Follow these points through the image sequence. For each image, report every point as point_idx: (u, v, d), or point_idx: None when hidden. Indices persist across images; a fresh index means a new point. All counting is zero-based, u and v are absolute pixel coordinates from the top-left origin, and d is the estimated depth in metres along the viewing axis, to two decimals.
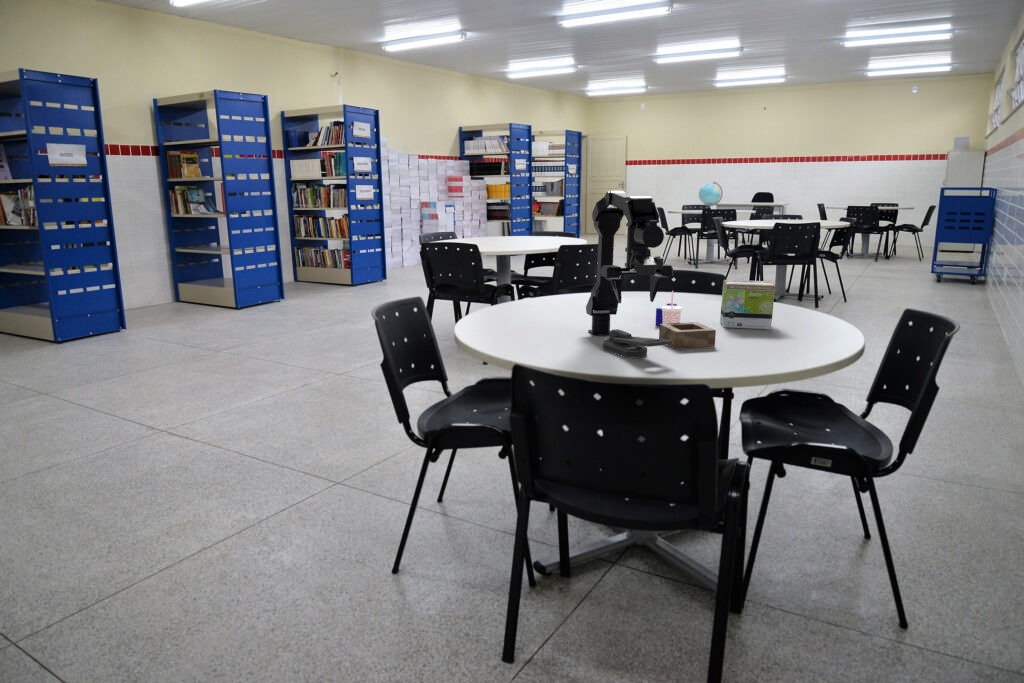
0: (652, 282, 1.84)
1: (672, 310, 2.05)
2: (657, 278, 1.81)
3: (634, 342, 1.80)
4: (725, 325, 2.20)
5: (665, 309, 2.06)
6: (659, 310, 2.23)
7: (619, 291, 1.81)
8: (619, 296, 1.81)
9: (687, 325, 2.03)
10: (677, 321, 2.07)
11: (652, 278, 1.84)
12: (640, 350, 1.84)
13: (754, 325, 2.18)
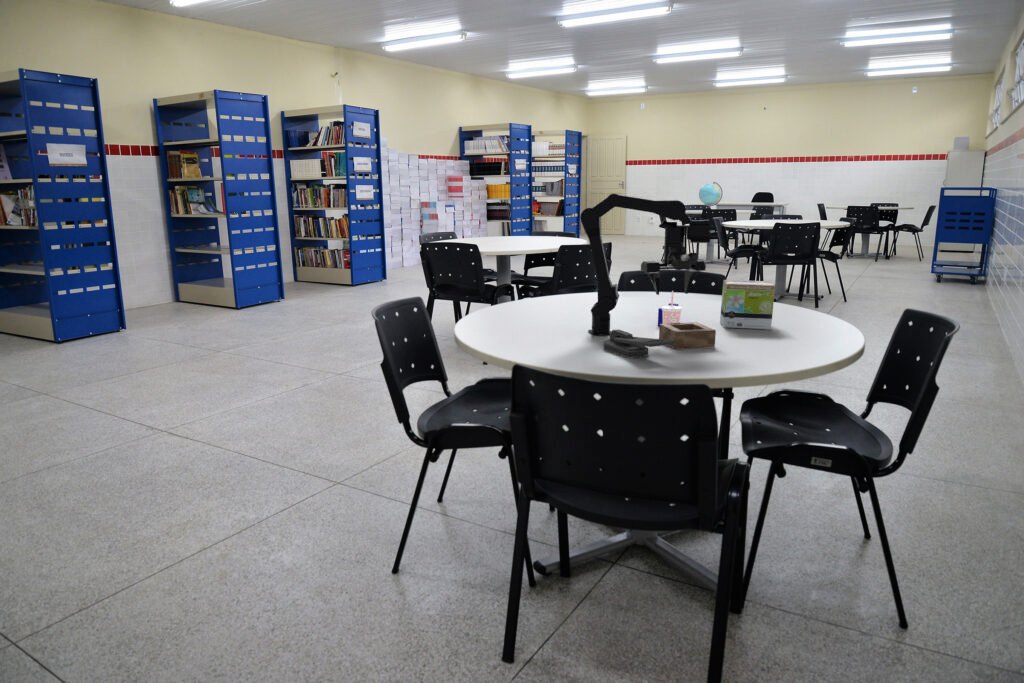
0: (686, 276, 2.07)
1: (672, 310, 2.05)
2: (691, 272, 2.04)
3: (636, 342, 1.79)
4: (725, 325, 2.20)
5: (665, 309, 2.06)
6: (661, 310, 2.23)
7: (657, 284, 2.04)
8: (657, 288, 2.04)
9: (687, 325, 2.03)
10: (677, 321, 2.07)
11: (686, 272, 2.07)
12: (642, 350, 1.84)
13: (754, 325, 2.18)
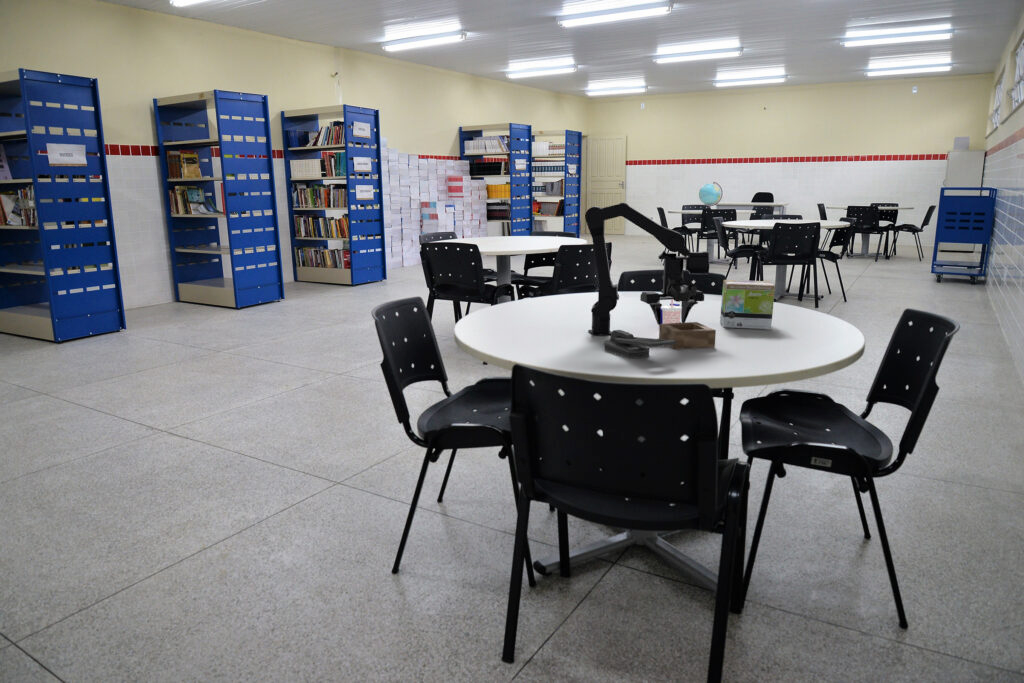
0: (683, 306, 2.10)
1: (672, 310, 2.05)
2: (688, 303, 2.07)
3: (637, 342, 1.79)
4: (725, 325, 2.20)
5: (665, 309, 2.06)
6: None
7: (659, 314, 2.07)
8: (658, 318, 2.07)
9: (687, 325, 2.03)
10: (677, 321, 2.07)
11: (683, 303, 2.10)
12: (643, 350, 1.83)
13: (754, 325, 2.18)
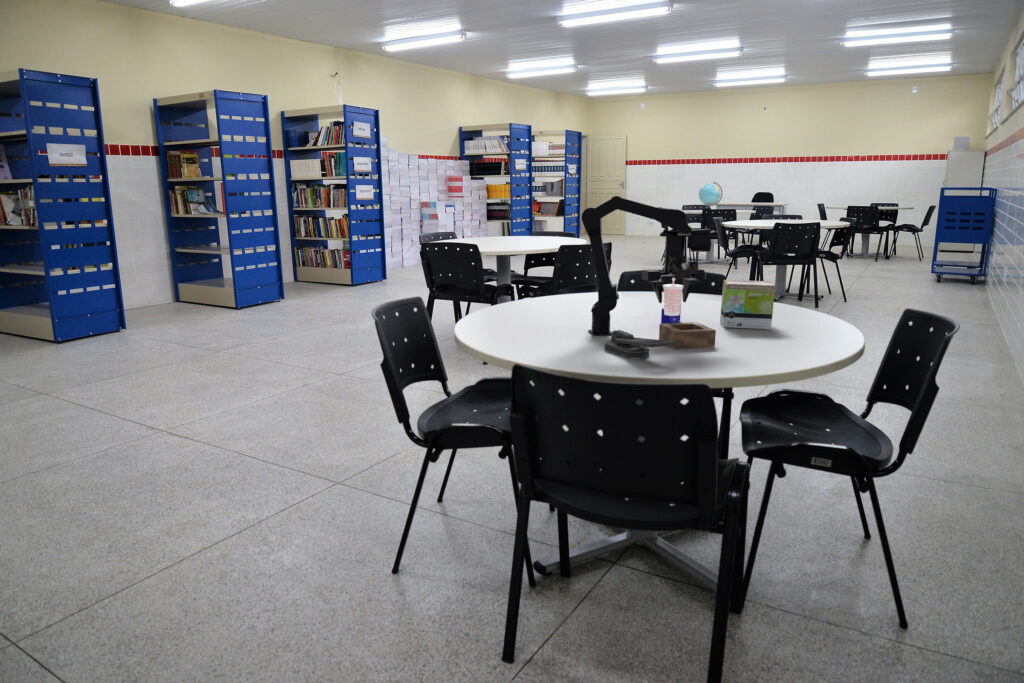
0: (685, 284, 2.08)
1: (676, 288, 2.04)
2: (689, 281, 2.05)
3: (636, 343, 1.79)
4: (725, 325, 2.20)
5: (668, 287, 2.04)
6: None
7: (660, 292, 2.05)
8: (660, 297, 2.06)
9: (687, 325, 2.03)
10: (680, 299, 2.06)
11: (685, 281, 2.08)
12: (642, 351, 1.83)
13: (754, 325, 2.18)
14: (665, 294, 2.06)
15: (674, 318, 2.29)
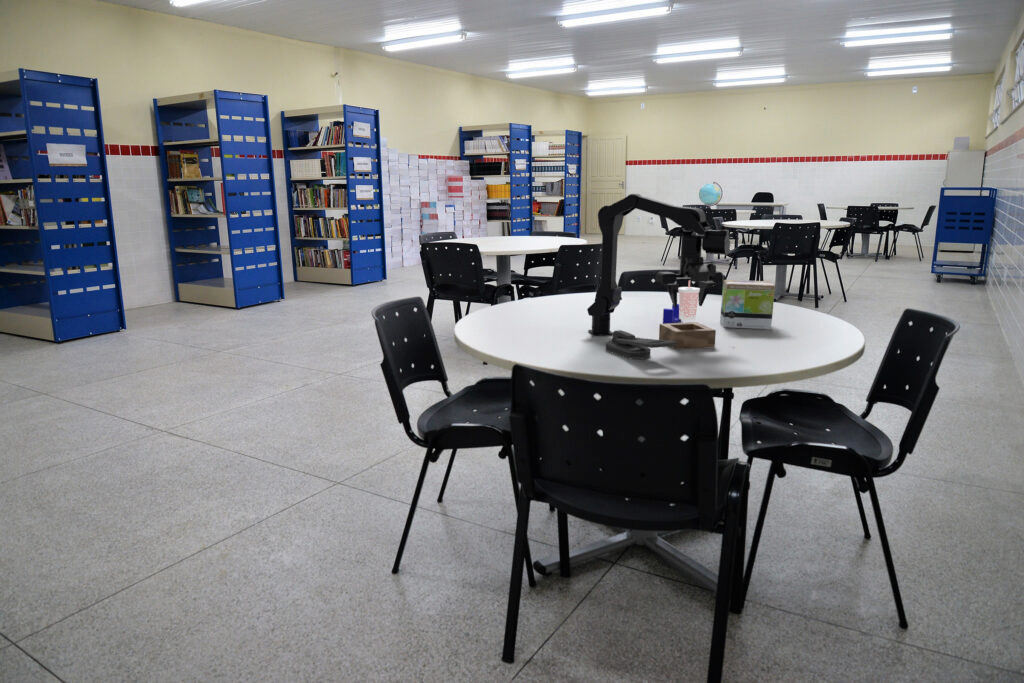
0: (701, 287, 1.98)
1: (692, 291, 1.93)
2: (706, 284, 1.95)
3: (638, 343, 1.78)
4: (725, 325, 2.20)
5: (684, 290, 1.94)
6: (666, 310, 2.22)
7: (675, 296, 1.94)
8: (675, 300, 1.95)
9: (687, 325, 2.03)
10: (696, 303, 1.95)
11: (701, 284, 1.98)
12: (644, 351, 1.83)
13: (754, 325, 2.18)
14: (680, 297, 1.96)
15: (676, 318, 2.29)
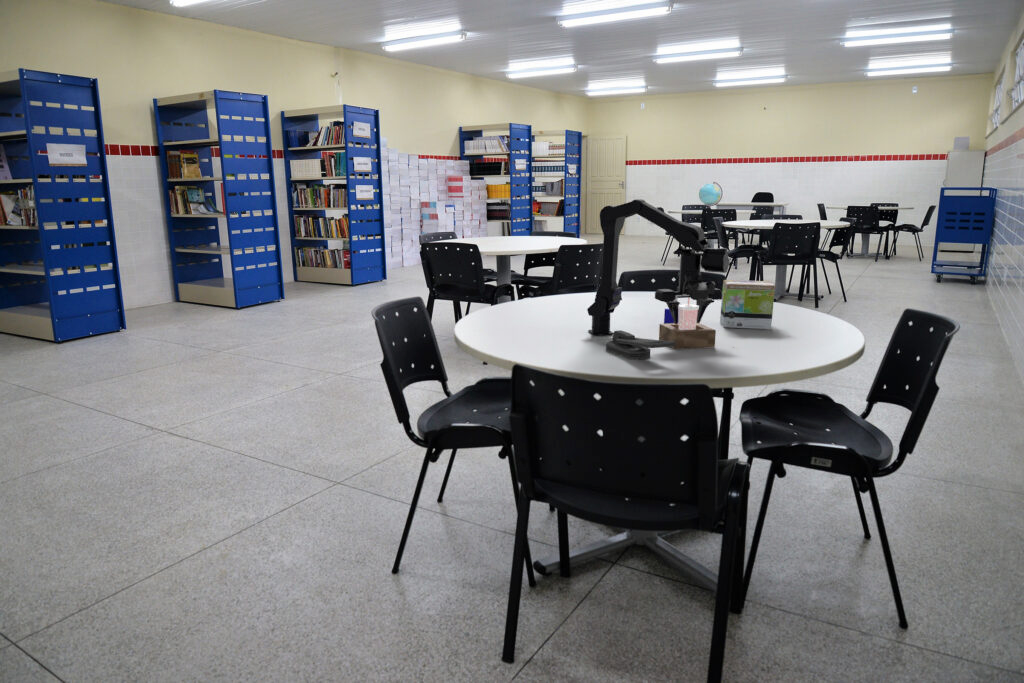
0: (698, 304, 1.99)
1: None
2: (704, 301, 1.96)
3: (637, 343, 1.78)
4: (725, 325, 2.20)
5: None
6: (668, 311, 2.22)
7: (676, 313, 1.96)
8: (676, 318, 1.96)
9: None
10: None
11: (698, 301, 1.99)
12: (643, 351, 1.82)
13: (754, 325, 2.18)
14: (696, 315, 1.96)
15: None
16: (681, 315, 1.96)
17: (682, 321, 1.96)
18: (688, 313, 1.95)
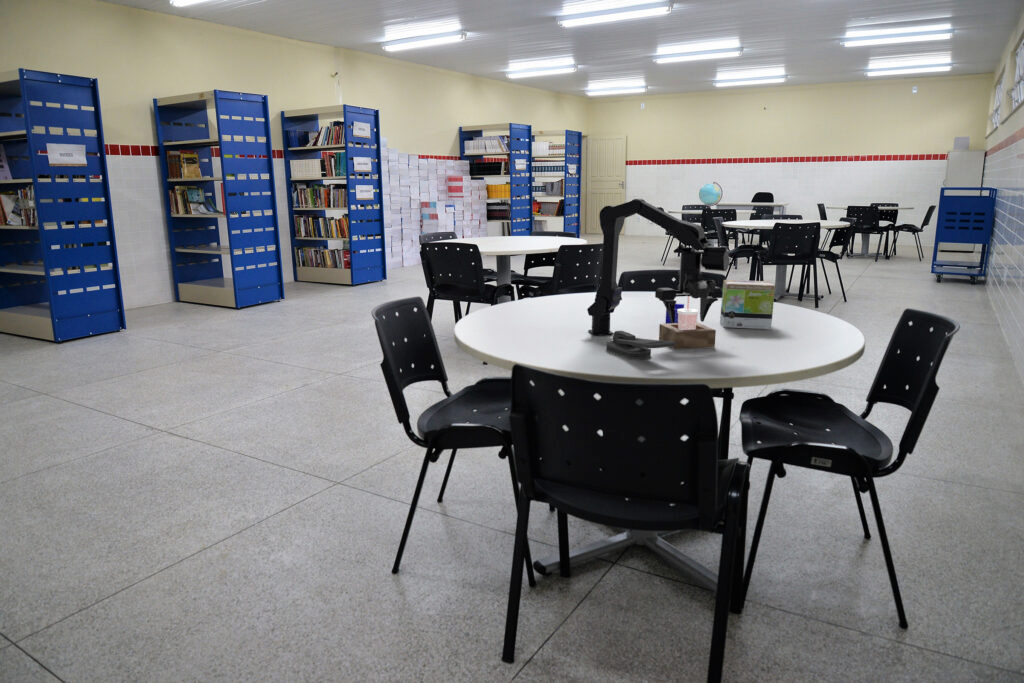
0: (702, 303, 1.99)
1: None
2: (708, 300, 1.96)
3: (637, 344, 1.78)
4: (725, 325, 2.20)
5: None
6: None
7: (673, 312, 1.95)
8: (672, 316, 1.96)
9: None
10: None
11: (702, 299, 1.99)
12: (644, 352, 1.82)
13: (754, 325, 2.18)
14: (696, 319, 1.98)
15: None
16: (683, 320, 1.96)
17: (685, 325, 1.96)
18: (690, 317, 1.95)
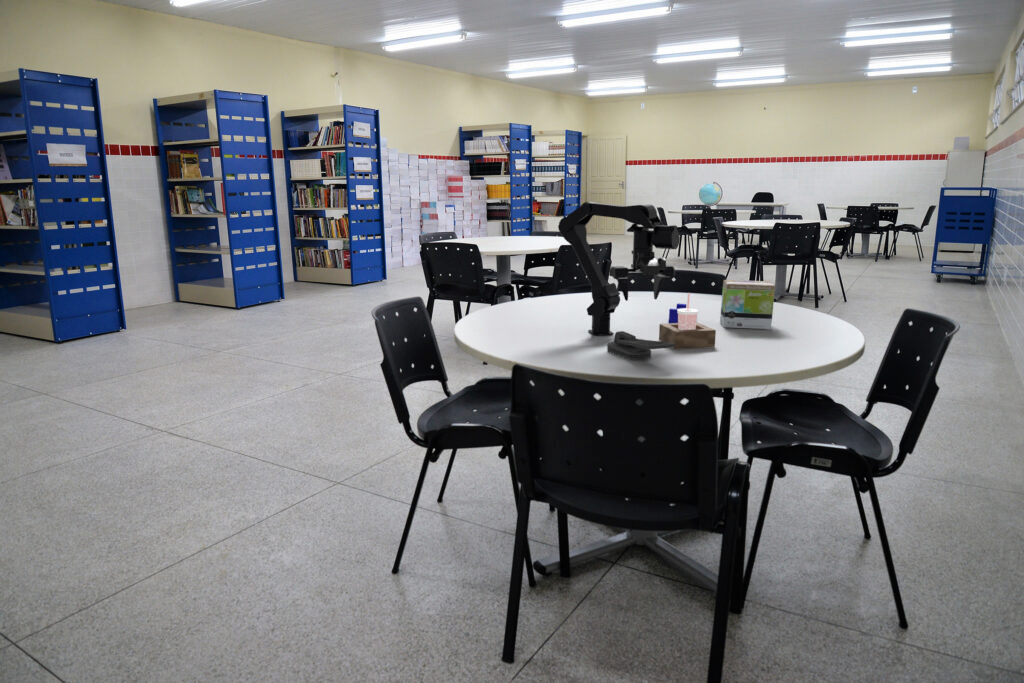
0: (656, 281, 2.04)
1: None
2: (660, 278, 2.01)
3: (637, 344, 1.77)
4: (725, 325, 2.20)
5: None
6: (672, 310, 2.22)
7: (626, 289, 2.01)
8: (626, 294, 2.01)
9: None
10: None
11: (656, 278, 2.04)
12: (644, 353, 1.81)
13: (754, 325, 2.18)
14: (696, 319, 1.98)
15: None
16: (683, 320, 1.96)
17: (685, 325, 1.96)
18: (690, 317, 1.95)
